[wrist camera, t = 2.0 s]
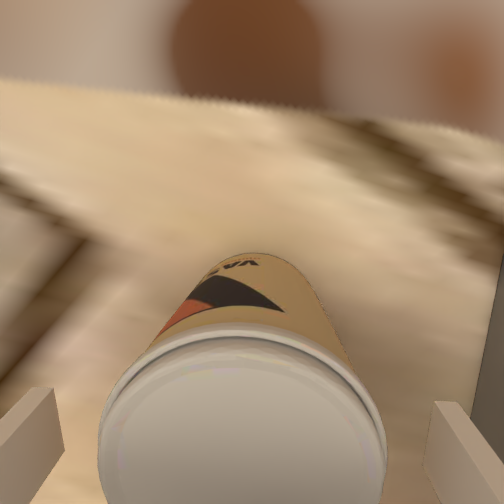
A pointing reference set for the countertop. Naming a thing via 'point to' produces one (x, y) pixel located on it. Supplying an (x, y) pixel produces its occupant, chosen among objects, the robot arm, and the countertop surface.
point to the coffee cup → (243, 402)
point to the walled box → (492, 379)
